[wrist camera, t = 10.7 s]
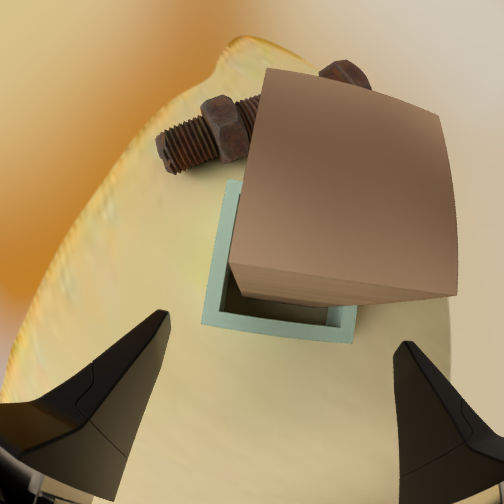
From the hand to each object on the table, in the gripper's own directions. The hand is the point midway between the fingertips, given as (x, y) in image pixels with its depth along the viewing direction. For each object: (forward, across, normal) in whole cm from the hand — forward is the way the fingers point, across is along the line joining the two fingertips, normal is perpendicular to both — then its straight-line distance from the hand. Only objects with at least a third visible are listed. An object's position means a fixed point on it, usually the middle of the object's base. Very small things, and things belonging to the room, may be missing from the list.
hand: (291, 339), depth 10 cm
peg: (+8, 0, +2) cm, 8 cm away
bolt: (+15, +2, -4) cm, 16 cm away
